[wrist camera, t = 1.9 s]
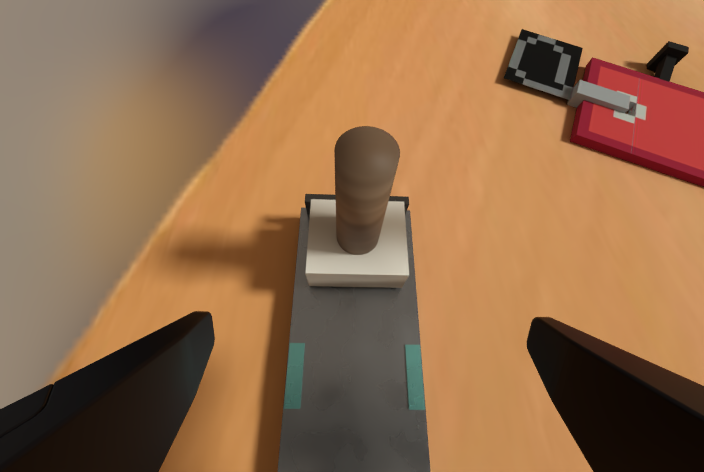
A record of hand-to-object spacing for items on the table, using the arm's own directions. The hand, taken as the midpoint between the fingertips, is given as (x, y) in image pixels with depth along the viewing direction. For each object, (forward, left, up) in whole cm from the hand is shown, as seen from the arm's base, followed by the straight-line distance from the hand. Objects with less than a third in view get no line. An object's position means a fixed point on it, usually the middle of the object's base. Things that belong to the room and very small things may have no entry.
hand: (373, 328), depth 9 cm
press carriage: (+6, +3, -11) cm, 13 cm away
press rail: (+1, +1, -13) cm, 13 cm away
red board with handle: (+33, -17, -14) cm, 40 cm away
